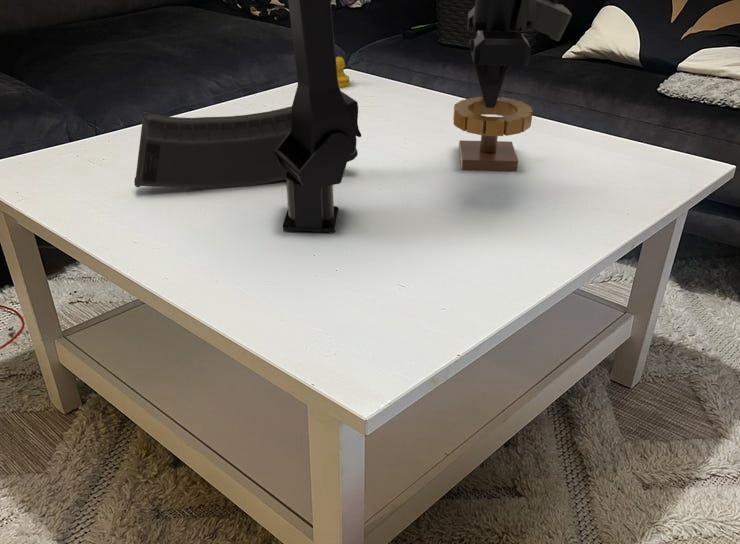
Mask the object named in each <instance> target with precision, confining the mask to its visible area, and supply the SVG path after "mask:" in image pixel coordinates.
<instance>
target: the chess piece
mask: <svg viewBox="0 0 740 544" xmlns="http://www.w3.org/2000/svg"><path fill="white" fill-rule="evenodd" d="M336 66H337V78H338V85H339V88H347V87H348V86H350V76H349V75H347V74H346V73H345V71H344V68H346V64H345V59H344V58H343V57H342V56H336Z"/></svg>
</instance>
